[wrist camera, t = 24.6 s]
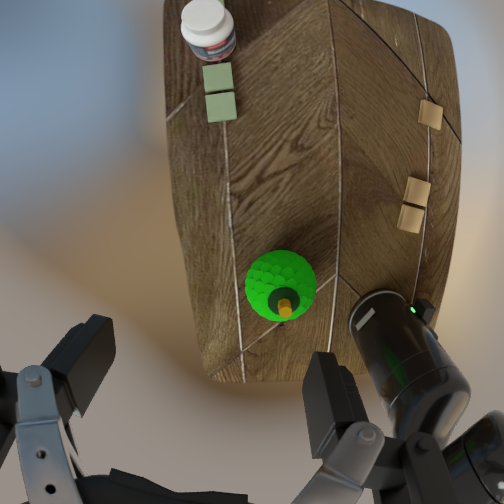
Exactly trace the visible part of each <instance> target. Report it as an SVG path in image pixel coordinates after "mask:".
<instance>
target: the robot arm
mask: <svg viewBox="0 0 504 504" xmlns="http://www.w3.org/2000/svg"><path fill="white" fill-rule="evenodd" d="M435 310H436V309H435V308H434V307H433V306H432V305H431V303H430V302H429V301H428V300H427V299H418V298H417V300H416V303H415V305H414V307H413V306H412V304H411V303H410V302H409V301H405V299H404V298H403V297H402V296H401V295H400V294H399V293H398V292H396V291H394V290H392V289H378V290H375V291H372V292H370V293H368V294H366V295H365V296H363V297H362V298H361V299H360V300H359V301H358V302H357V303H356V304H355V305H354V307H353V308H352V310H351V312H350V315H349V318H348V329H349V332H350V334H351V336H352V338H353V339H354V341H355V343H356V345H357V348H358V350H359V352H360V354H361V356H362V359H363V361H364V363H365V365H366V368H367V370H368V372H369V374H370V376H371V379H372V381H373V384H374V386H375V388H376V391H377V393H378V395H379V398H380V400H381V402H382V404H383V407H384V410H385V412H386V414H387V417H388V419H389V422H390V424H391V427H392V438H390V437H386V436H384V434H383V432H382V431H381V429H380V428H379V427H377V426H376V425H374V424H372V423H370V422H369V420H368V417H367V414H366V411H365V408H364V405H363V402H362V400H361V397H360V394H359V391H358V388H357V386H356V383H355V380H354V377H353V375H352V373H351V372H350V371H349V370H348V369H347V368H346V367H345V366H338V363H337V360H336V357H335V354H334V353H330V352H317V351H315V352H314V353H313V355H312V358H311V361H310V364H309V367H308V370H307V372H306V375H305V378H304V381H303V388H302V393H303V400H304V406H305V412H306V418H307V426H308V432H309V439H310V445H311V453H312V459H319V458H322V460H323V465H322V466H321V467H320V468H319V470H318V471H317V472H316V474H315V475H314V476H313V477H312V479H311V480H310V481H309V482H308V484H307V485H306V486H305V487H304V489H303V490H302V491H301V492H300V493H299V495H298V496H297V497H296V498H295V499H294V500H293V502H292V503H291V504H356V503H357V501H358V499H359V498H360V496H361V494H362V492H363V489H364V488H370V489H372V493H373V498H374V504H504V413H503V412H501V411H498V410H493V411H490V412H488V413H487V414H485V415H484V416H483V417H482V418H480V419H479V420H478V421H477V422H476V423H475V424H473V425H472V426H471V427H470V428H469V429H468V430H467V431H465V432H464V433H463V434H462V435H460V436H459V437H458V438H457V439H455V440H454V441H453V442H452V443H450V444H449V445H448V446H447V444H448V441H449V438H450V436H451V434H452V432H453V430H454V428H455V426H456V425H457V423H458V421H459V420H460V418H461V417H462V415H463V413H464V412H465V410H466V408H467V406H468V404H469V401H470V398H471V388H470V385H469V383H468V381H467V379H466V378H465V377H464V375H463V374H462V372H461V371H460V370H459V368H458V367H457V366H456V364H455V363H454V362H453V360H452V359H451V358H450V356H449V355H448V354H447V353H446V351H445V350H444V349H443V347H442V346H441V345H440V343H439V342H438V341H437V340H438V336H437V334H436V333H435V332H434V331H433V329H432V328H431V327H430V326H429V323H430V321H431V319H432V316H433V314H434V312H435ZM115 354H116V346H115V338H114V329H113V321H112V319H111V318H109V317H105V316H101V315H97V314H93V315H92V316H91V317H90V318H89V319H88V321H87V322H86V323H85V324H84V323H80V324H78V325H76V326H75V327H73V328H71V329H70V330H69V331H68V333H67V334H66V335H65V337H64V338H62V340H61V341H60V342H59V344H57V346H56V347H55V348H54V349H53V351H52V352H51V353H50V354H49V355H48V357H47V358H46V359H45V360H44V361H43V363H42V364H41V365H31V366H28V367H26V368H24V369H23V370H21V371H20V373H12V372H6V371H2V368H1V366H0V468H1V466H2V464H3V462H4V460H5V458H6V456H7V454H8V452H9V450H10V448H11V446H12V444H13V442H14V440H15V438H16V442H17V448H18V455H19V460H20V466H21V471H22V475H23V480H24V484H25V488H26V492H27V496H28V500H29V501H27V502H24V503H22V504H253V503H249V502H248V495H245V494H233V493H224V492H215V491H209V492H185V493H178V492H174V491H171V490H169V489H167V488H164V487H162V486H160V485H158V484H156V483H154V482H152V481H150V480H148V479H146V478H144V477H140V476H136V475H133V474H130V473H126V472H123V471H120V470H117V469H113V468H112V469H111V471H110V474H109V475H91V476H89V475H88V473H87V471H86V469H85V467H84V465H83V462H82V460H81V457H80V454H79V451H78V448H77V445H76V441H75V438H74V435H73V432H72V428H71V424H70V421H69V419H70V417H71V416H72V414H73V415H75V416H78V417H81V418H82V417H83V415H84V413H85V411H86V410H87V408H88V406H89V404H90V402H91V401H92V398H93V397H94V395H95V393H96V391H97V390H98V388H99V386H100V384H101V382H102V381H103V379H104V377H105V375H106V374H107V372H108V370H109V368H110V367H111V365H112V363H113V361H114V358H115Z"/></svg>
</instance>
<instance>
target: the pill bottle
mask: <svg viewBox="0 0 504 504" xmlns="http://www.w3.org/2000/svg"><path fill="white" fill-rule="evenodd" d="M181 31H182V35H183V37H184V38H185V40H186V41H187V43H188V44H189V46H190V48H191V49H192V51H193V52H194V54H195V55H196V56H197V57H199V58H200V59H203V60H206V61H218V60H221V59H223V58H225V57H227V56H228V55H229V54H230V53H231V52H232V51H233V50H234V48H235V45H236V35H235V29H234V21H233V18H232V16H231V14H230V12H229V11H228V10H227V9H225V8H224V7H223V5H222V3H221V2H219V1H218V0H193V1H191V2H190V3H188V4H187V5H186V6H185V8H184V9H183V12H182V24H181Z"/></svg>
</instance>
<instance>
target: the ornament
mask: <svg viewBox="0 0 504 504" xmlns="http://www.w3.org/2000/svg"><path fill="white" fill-rule="evenodd" d="M245 284H246V288H245V292H246V294H247V296H248V297H247V299H248V301H249V302H250V304H251V306H252V308H253V309H254V310H255V311H257V312H258V314H260V315H261V316H263V317H265V318H267V319H269V320H273V321H276V320H277V321H282V322H283V321H287V320H291V319H295V318H297V317H298V316H299V315H301V314H303V313H304V312H306V311H307V309H308V307H309V306H310V305H311V304H312V302H313V298H314V296H315V295H316V286H317V282H316V280H315V273H314V271H313V270H312V268H311V266H310V264H309V263H307V261H306V260H305V258H303V257H302V256H299V255H298V254H296V253H294V252H291V251H288V250H275V251H272V252H268V253H266V254H264V255H262V256H261V257H259V258H258V259H257V260H256V261H255V262H254V263H253V264H252V266H251V269H249V270H248V273H247V278H246V281H245Z"/></svg>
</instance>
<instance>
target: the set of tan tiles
mask: <svg viewBox="0 0 504 504" xmlns="http://www.w3.org/2000/svg"><path fill="white" fill-rule="evenodd" d="M442 113H443V108H442V107H440V106H438V105H436V104H434V103H432V102H429V101H427V100H425V99H424V100H421V103H420V112H419V119H418V122H419V123H422V124H424V125H426V126H429V127H431V128H434V129H436V130H440V129H441V122H442ZM430 186H431V183H428V182H425V181H422V180H419V179H416V178H413V177H408V182H407V186H406V191H405V195H404V201H407V202H410V203H414V204H417V205H421V206H424V207H426V204H427V200H428V195H429V191H430ZM423 215H424V210H422V209H420V208H416V207H412V206H409V205H405V204H402V208H401V212H400V216H399V220H398V224H397V228H399V229H401V230H406V231H410V232H414V233H419V230H420V227H421V223H422V219H423Z"/></svg>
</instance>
